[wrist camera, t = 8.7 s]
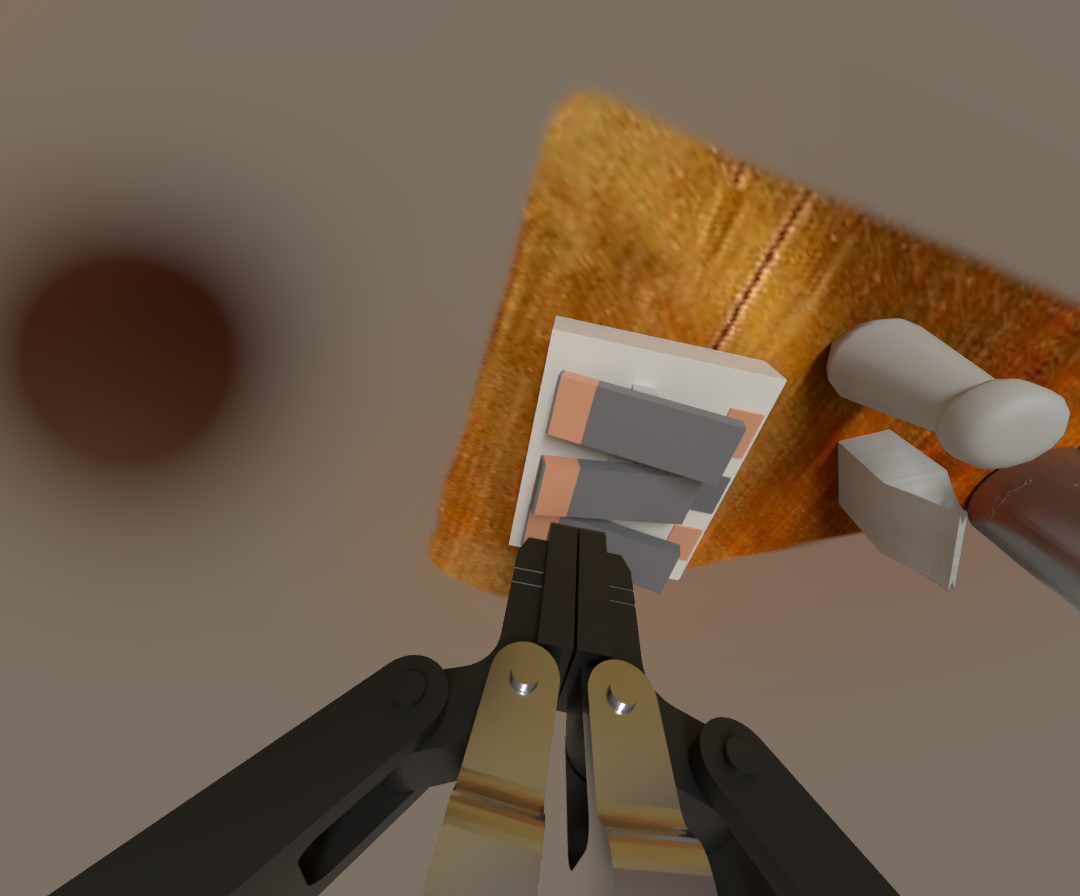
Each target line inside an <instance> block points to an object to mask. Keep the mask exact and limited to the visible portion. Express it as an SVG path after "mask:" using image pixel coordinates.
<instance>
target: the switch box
mask: <svg viewBox="0 0 1080 896" xmlns="http://www.w3.org/2000/svg"><path fill="white" fill-rule="evenodd" d="M562 370H566V371H570V372H573V373H577V374H580V375H584V376H587V377H591V378H594V379H598V380H600V381H604V382H608V383H611V384H615V385H618V386H622V387H625V388H629V389H632V390H636V391H639V392H643V393H646V394H650V395H653V396H657V397H660V398H664V399H667V400H671V401H674V402H678V403H681V404H685V405H689V406H692V407H696V408H699V409H703V410H706V411H710V412H713V413H717V414H720V415H724V416H727V417H731V418H734V419H738V420H741V421H744V424H745V426H746V431H745V433H744V435H743V437H742V439H741V441H740V443H739V445H738V446H737V448H736V450H735V452H734V454H733V456H732V458H731V460H730V462H729V464H728V466H727V467H726V469H725V471H724V473H723V475H722V477H721V479H720V481H719V483H718V485H717V486H714V485H711V484H707V483H704V482H703V483H702V485H701V487H700V489H699V491H698V493H697V495H696V497H695V499H694V501H693V503H692V505H691V507H690V509H689V511H688V513H687V515H686V517H685V519H684V521H683V523H682V524H667V523H653V522H638V521H623V520H609V519H603V520H606V521H609V522H612V523H615V524H618V525H621V526H624V527H627V528H630V529H633V530H636V531H639V532H642V533H645V534H648V535H651V536H654V537H657V538H661V539H664V540H667V541H670V542H673V543H676V544H679V545H680V557H679V559H678V561H677V563H676V565H675V567H674V569H673V571H672V572H671V574H670V576H669V578H670V579H675V580H679V578H680V577H681V575H682V573H683V571H684V569H685V567H686V565H687V564H688V562H689V560H690V558H691V556H692V554H693V553H694V551H695V549H696V547H697V545H698V543H699V542H700V540H701V538H702V536H703V534H704V532H705V531H706V529H707V527H708V525H709V523H710V521H711V519H712V518H713V516H714V514H715V512H716V510H717V508H718V507H719V505H720V503H721V501H722V499H723V497H724V496H725V494H726V492H727V490H728V488H729V486H730V484H731V483H732V481H733V479H734V477H735V475H736V473H737V472H738V470H739V468H740V466H741V464H742V462H743V461H744V459H745V457H746V455H747V453H748V451H749V450H750V448H751V446H752V444H753V442H754V440H755V438H756V437H757V435H758V433H759V431H760V429H761V427H762V426H763V424H764V422H765V420H766V418H767V416H768V415H769V413H770V411H771V409H772V407H773V405H774V403H775V402H776V400H777V398H778V396H779V394H780V392H781V391H782V389H783V387H784V385H785V383H786V381H787V379H785V378H784V377H783V376H782V375H781V374H779V373H778V372H777V371H776V370H775V369H773V368H772V367H771V366H770V365H769V364H768V363H766V362H765V361H763V360H758V359H754V358H749V357H745V356H740V355H735V354H731V353H726V352H722V351H717V350H712V349H708V348H703V347H699V346H694V345H689V344H685V343H680V342H676V341H671V340H666V339H662V338H657V337H653V336H648V335H643V334H639V333H634V332H630V331H625V330H620V329H616V328H611V327H607V326H602V325H597V324H593V323H588V322H584V321H579V320H574V319H570V318H565V317H561V316H556V318H555V322H554V326H553V329H552V334H551V339H550V344H549V349H548V354H547V359H546V364H545V369H544V374H543V379H542V383H541V388H540V393H539V398H538V403H537V408H536V413H535V418H534V423H533V428H532V433H531V438H530V442H529V447H528V452H527V457H526V462H525V467H524V472H523V477H522V482H521V487H520V492H519V496H518V501H517V506H516V511H515V516H514V521H513V526H512V531H511V536H510V541H509V545H512V546H517V547H521V546H522V545H520V543H521V539H522V535H523V530H524V526H525V521H526V517H527V512H528V508H529V504H530V501H531V497H532V493H533V488H534V484H535V479H536V475H537V470H538V466H539V461H540V457H541V455H550V456H560V457H570V458H578V459H588V460H598V461H609V462H619V463H629V464H640V465H646V464H643V463H640V462H637V461H633V460H630V459H627V458H624V457H620V456H617V455H614V454H611V453H607V452H604V451H601V450H598V449H595V448H591V447H588V446H585V445H582V444H578V443H574V442H571V441H568V440H565V439H561V438H558V437H555V436H552V435H549V434H546V433H545V432H546V428H547V423H548V419H549V414H550V410H551V405H552V401H553V396H554V392H555V388H556V383H557V379H558V375H559V374H560V372H561V371H562Z"/></svg>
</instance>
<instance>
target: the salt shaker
mask: <svg viewBox="0 0 1080 896" xmlns="http://www.w3.org/2000/svg"><path fill="white" fill-rule="evenodd" d="M826 369H827V376H828V381H829V382H830V383H831V385H832V386H833V387H834V389H835V390H836V392H837V393H838V394H839V395H840V396H841V397H843V398H846V399H848V400H850V401H853V402H855V403H858V404H861V405H863V406H866V407H869V408H871V409H874V410H877V411H880V412H882V413H885V414H888V415H890V416H893V417H896V418H898V419H901V420H904V421H907V422H909V423H912V424H915V425H917V426H920V427H923V428H926V429H928V430H931V431H934V432H935V435H936V437H937V439H938V440H939V442H940V444H941V445H942V447H943V448H944V450H945V451H946V452H948V453H949V454H950V455H951V456H953V457H954V458H956V459H959V460H961V461H963V462H966V463H968V464H971V465H973V466H976V467H978V468H981V469H999V468H1007V467H1012V466H1015V465H1018V464H1021V463H1025V462H1028V461H1031V460H1033V459H1035V458H1036V457H1038V456H1040V455H1041V454H1043V453H1044V452H1046V451H1048V450H1049V449H1051V448H1052V447H1053V446H1054V445H1055V443H1056V442H1057V441H1058V440H1059V439H1060V438H1061V437H1062V436H1063V435H1064V433H1065V430H1066V426H1067V423H1068V420H1069V415H1070V411H1069V409H1068V407H1067V404H1066V402H1065V400H1064V398H1062V397H1061V396H1059V395H1058V394H1056V393H1055V392H1053V391H1051V390H1049V389H1046V388H1044V387H1041V386H1039V385H1036V384H1034V383H1031V382H1028V381H1025V380H1021V379H994V378H993V377H992V376H990V375H989V374H987V373H986V372H984V371H983V370H982V369H980V368H979V367H977V366H976V365H975V364H973V363H972V362H970V361H969V360H967V359H966V358H965V357H963V356H962V355H960V354H959V353H958V352H956V351H955V350H953V349H952V348H951V347H949V346H948V345H946V344H945V343H943V342H942V341H941V340H939V339H938V338H936V337H935V336H934V335H932V334H931V333H929V332H928V331H926V330H925V329H924V328H922V327H921V326H918V325H916V324H914V323H911V322H909V321H906V320H904V319H898V318H895V319H883V320H874V321H869V322H865V323H860V324H857V325H856V326H854V327H853V328H851V329H850V330H848V331H847V332H845V333H844V334H842V335H841V336H840V337H838V338H837V339H835V340H834V341H832V344H831V348H830V352H829V356H828V360H827V364H826Z"/></svg>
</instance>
